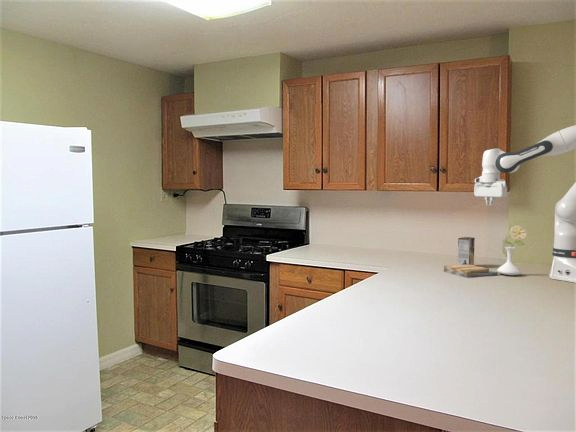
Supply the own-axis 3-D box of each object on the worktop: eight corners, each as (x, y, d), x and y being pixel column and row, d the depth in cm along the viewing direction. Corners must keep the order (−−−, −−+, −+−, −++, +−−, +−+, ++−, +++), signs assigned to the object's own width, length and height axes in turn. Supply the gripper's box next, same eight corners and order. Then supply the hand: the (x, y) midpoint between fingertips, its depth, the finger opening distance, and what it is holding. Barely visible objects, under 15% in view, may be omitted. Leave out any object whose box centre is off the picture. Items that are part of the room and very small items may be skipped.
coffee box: (462, 265, 266) (463, 236, 265) (474, 266, 262) (475, 237, 261) (457, 267, 259) (458, 238, 258) (469, 268, 255) (470, 238, 254)
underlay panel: (497, 275, 235) (497, 269, 235) (466, 277, 229) (466, 271, 228) (473, 269, 251) (473, 264, 251) (443, 271, 245) (443, 265, 244)
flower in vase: (495, 275, 235) (497, 225, 233) (497, 271, 245) (499, 223, 243) (525, 278, 228) (527, 226, 227) (525, 274, 239) (527, 225, 237)
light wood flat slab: (489, 271, 234) (489, 268, 234) (469, 273, 230) (469, 270, 230) (468, 266, 248) (468, 264, 248) (449, 268, 244) (449, 265, 244)
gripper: (510, 179, 240) (509, 206, 241) (481, 179, 259) (480, 204, 260) (500, 179, 238) (499, 206, 239) (472, 179, 257) (471, 204, 258)
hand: (489, 205), depth 250 cm, fingers closed
